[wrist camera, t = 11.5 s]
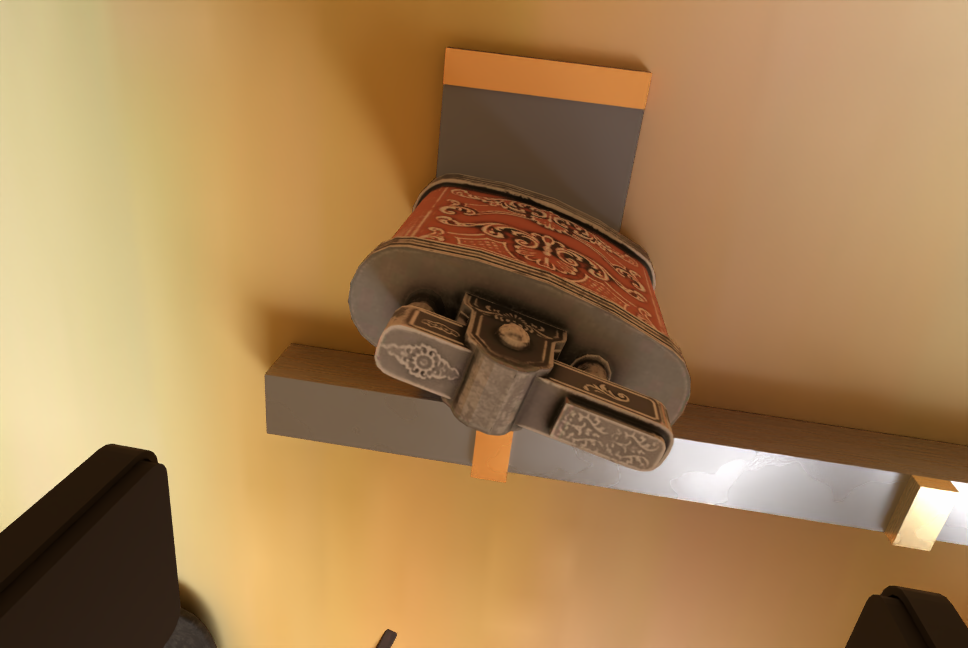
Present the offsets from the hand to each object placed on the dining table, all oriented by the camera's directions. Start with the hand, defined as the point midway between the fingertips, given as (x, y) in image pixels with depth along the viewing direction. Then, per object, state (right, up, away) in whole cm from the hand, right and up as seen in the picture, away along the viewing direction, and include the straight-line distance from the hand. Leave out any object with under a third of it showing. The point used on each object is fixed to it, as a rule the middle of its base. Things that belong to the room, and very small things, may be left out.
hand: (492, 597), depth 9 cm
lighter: (+2, +6, +13) cm, 15 cm away
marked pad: (+1, +7, +13) cm, 15 cm away
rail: (+7, 0, +15) cm, 17 cm away
